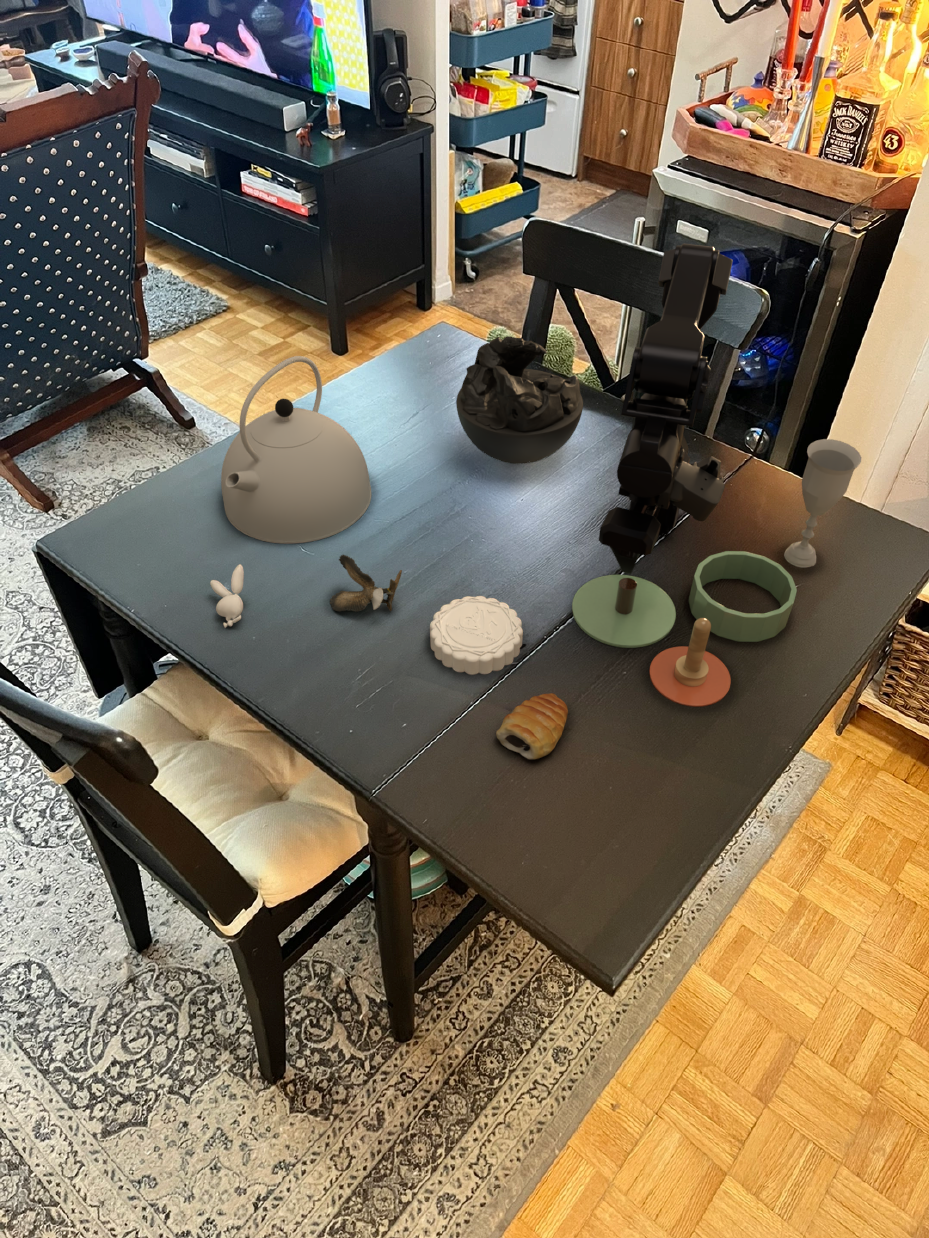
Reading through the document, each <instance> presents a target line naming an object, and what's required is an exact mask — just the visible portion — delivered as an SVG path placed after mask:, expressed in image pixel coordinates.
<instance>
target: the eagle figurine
mask: <svg viewBox="0 0 929 1238" xmlns="http://www.w3.org/2000/svg"><path fill="white" fill-rule="evenodd" d="M338 561H339V562H340V563H339V564H341V565H342V568H344V569H345V570H346V572H347V574H348V576H349V577H350V578H351V579H352V580H353V581H354V582H355V583H356V584H358V585H359V586H361V587H362V590H360V591H359V590H355V591H354V590H350V591H348V590H347V591H345V590H340V591H339V592H336V593H335V594H333V595H331V597H330V599H329V604H330V608H332V610H334V611H335V612H346V611H349V612H350V611H351V612H354V613H355V612H356V613H357V612H361V611H364V610H365V609H366V607H367V606H368V604H372V609H373V610H374V611H375V610H377V609H378V608H380V606H381V604H385V605H386V607H387V609H388V610H389V611H390V612H392V611H393V602H394V599H395V598H394V597H395V594H396V591H397V589H398V586H399V583H400V580H401V577H402V572H403V570H402V569H400V570H399V571H398V573H397V575H396V577H395V578H394V579H392V578H390V579H389V586H388V587H384V588H382V587H378V586H375V585H376V584H375V583H376V582H375V581H374V580H373V578H372V576H370V575H369V574H368V573H365V572H363V571H362V570H361V567H359V566H358V564H357V563H356V561H355V559H353V558H352V557H350V556H348V555H346V554H341V555H340V556H339V558H338ZM384 594H386V596H387V597H386V599H385V598H384Z"/></svg>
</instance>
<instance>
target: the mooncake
mask: <svg viewBox="0 0 929 1238" xmlns="http://www.w3.org/2000/svg"><path fill="white" fill-rule="evenodd" d="M522 624H523V623H522V620H521V618H519V617H518V613H517V611H516V610H515V609H512V608H510V607H509V605H508V604H507V603H506V602H500V601H499V600H498V599H496V598H493V597H488V598H486V597H485V596H483V595H477V596H469V595H468V596H464V597H462V598H461V599H459V598H457V599H456V598H455V599H453V600H451V601H450V602H449V603H447V604H443V605H442V606H441V607H440V609H439V611H436V612H435V613H434V614H433V619H432V621H431V622H430V624H429V634H430V635H429V637H430V639H429V640H430V648H431V650H432V651H433V652H434V657H435V658H436V660H439V661H441V663H442V665H443V666H444V667H446V668H452V670H453V671H455V672H456V673H464V672H465V673H466V674H468V675H471V676H472V675H477V674H481V675H488V674H490V673H492V671H493V672H499V671H501V670H502V669H504V668H505V666H509V665H511V664H512V663H513V662H514V658H517V657H518V656H519V655H520V652H521V651H520V650H521V648H522V646H523V637H524V636H523V635H524V633H523V632H524V630H523V627H522Z"/></svg>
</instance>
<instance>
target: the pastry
mask: <svg viewBox="0 0 929 1238" xmlns="http://www.w3.org/2000/svg"><path fill="white" fill-rule="evenodd" d="M568 713H569V710H568V705H567V704H566V703H565V701H564V700H563V699H561V698H559V697H558V696H557V695H556V694H555V693H542V694H539V695H533V696H532V697H530V698H529V699H526V700H523V701H522V703H521V704H520V705H516V706H515V707H514V709H513V710H512V711H511V712H510V713H507V714H506V715H505V716H504V718H503V720H502V723H501V725H500V727H499V729H497V730H496V732H495V733H496V734H495V736H496V738H497V740H498V741H499V742H500V744H501V745H502V746H504V747H505V748H507V749H508V750H510V751H512V752H516V753H519V754H520V755H521V756H522V757H524V758H525V759H527V760H539V759H540V758H543V757H545V756H547V755H549V754H550V753H552V751H553V750H554V749H555V748H556V745H557V744H558V742H559V740H560V739H561V737H562V735H563V732H564V729H565V725H566V723H567V719H568Z"/></svg>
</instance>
